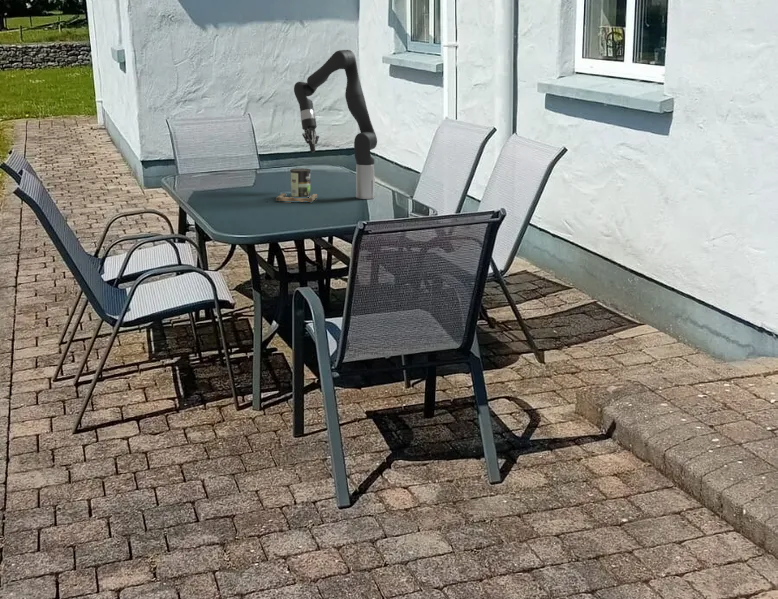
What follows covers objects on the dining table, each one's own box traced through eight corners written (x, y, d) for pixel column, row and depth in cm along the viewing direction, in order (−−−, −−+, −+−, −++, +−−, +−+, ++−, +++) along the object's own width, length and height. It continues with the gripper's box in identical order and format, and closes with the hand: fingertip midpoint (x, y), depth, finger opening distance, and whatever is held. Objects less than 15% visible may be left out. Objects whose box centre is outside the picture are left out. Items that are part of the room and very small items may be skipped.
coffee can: (313, 195, 507) (312, 168, 504) (307, 199, 498) (307, 171, 494) (293, 195, 509) (293, 167, 506) (288, 198, 500) (287, 170, 496)
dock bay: (316, 198, 500) (316, 194, 499) (312, 203, 486) (312, 198, 486) (282, 197, 502) (282, 193, 501) (276, 202, 488) (276, 197, 488)
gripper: (307, 115, 503) (312, 148, 502) (321, 119, 515) (325, 152, 513) (295, 119, 507) (300, 152, 505) (309, 123, 518) (314, 155, 517)
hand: (313, 152), depth 509 cm, fingers closed
